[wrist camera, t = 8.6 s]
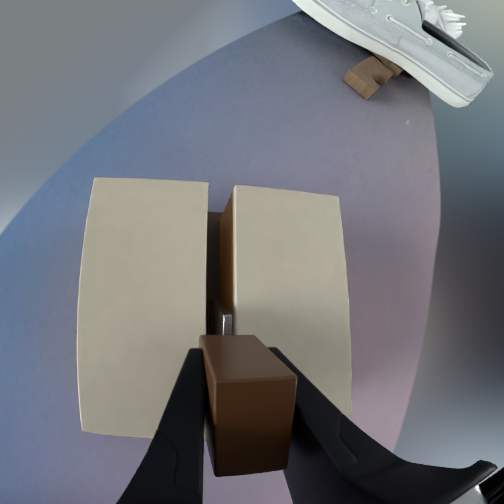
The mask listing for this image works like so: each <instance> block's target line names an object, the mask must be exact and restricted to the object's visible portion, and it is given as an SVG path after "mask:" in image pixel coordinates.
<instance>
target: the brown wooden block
mask: <svg viewBox="0 0 504 504" xmlns="http://www.w3.org/2000/svg"><path fill="white" fill-rule="evenodd" d="M231 327H232V315H231V314H230V313H229V312H228V311H227V310H226V309H225V308H224V307H223V306H222V304H221V303H220V302H219V301H218V300H217V299H216V298H215V297H214V296H208V329H207V335H200V336H199V348H201V349H202V351H203V358H204V365H205V372H206V402H205V425H204V433H205V437H206V442H207V446H208V450H209V455H210V459H211V463H212V467H213V471H214V475H215V476H216V477H223V476H236V475H246V474H255V473H263V472H271V471H278V470H284V469H287V465H288V458H289V450H290V442H291V434H292V425H293V417H294V407H295V398H296V387H297V375H295V374H294V373H293V372H292V371H291V370H290V369H289V368H288V367H287V366H286V365H285V364H284V363H283V362H282V361H281V360H280V359H279V358H278V357H276V356H275V355H274V354H273V353H272V352H271V351H270V350H269V349H268V348H267V347H266V346H265V345H264V344H263V343H262V342H261V341H260V340H259V339H258V338H257V337H256V336H255V335H231Z"/></svg>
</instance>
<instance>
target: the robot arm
mask: <svg viewBox="0 0 504 504" xmlns="http://www.w3.org/2000/svg"><path fill="white" fill-rule="evenodd" d="M267 348H268V349H269V350H270V351H271V352H272V353H273V354H274V355H275V356H276V357H278V358H279V359H280V360H281V361H282V362H283V363H284V364H285V365H286V366H287V367H288V368H289V369H290V370H291V371H292V372H293V373H294V374H295V375H297V387H296V398H295V407H294V417H293V425H292V434H291V442H290V450H289V458H288V465H287V469H284V470H283V471H284V475H285V478H286V481H287V485H288V488H289V491H290V494H291V498H292V501H293V504H504V467H503V468H502V469H501V470H499V471H498V472H497V473H495V474H494V475H493V476H491V477H489V478H488V479H487V480H485V481H484V482H482V483H481V484H479V485H478V483H479V482H481V481H482V480H484V479H485V478H486V477H487V476H489V475H490V474H491V473H492V472H494V471H495V470H496V469H497V466H496V465H495V464H493V463H491V462H488V461H483V460H479V461H477V462H476V463H475V464H473V465H472V466H470V467H467V468H462V469H456V468H445V467H437V466H430V465H423V464H416V463H411V462H408V461H405V460H403V459H401V458H399V457H397V456H396V455H394V454H393V453H392V452H390V451H389V450H387V449H386V448H385V447H383V446H382V445H380V444H379V443H378V442H376V441H375V440H374V439H372V438H371V437H370V436H368V435H367V434H366V433H365V432H363V431H362V430H361V429H360V428H359V427H357V426H356V425H355V424H354V423H353V422H352V421H351V420H350V419H349V418H348V417H346V416H345V415H344V414H342V412H341V411H340V410H339V409H338V408H337V407H336V406H335V405H334V404H333V403H332V402H331V401H330V400H329V399H328V398H327V397H326V396H325V395H324V394H323V393H322V392H321V391H320V390H319V389H318V388H317V387H316V386H315V385H314V384H313V383H312V382H311V381H310V380H309V379H308V378H307V377H306V376H305V375H304V374H303V373H302V372H301V371H300V370H299V369H298V368H297V367H296V366H295V365H294V364H293V363H292V362H291V361H290V360H289V359H288V358H287V357H286V356H285V355H284V354H283V353H282V352H281V351H280V350H279V349H278V348H277V347H267ZM205 402H206V372H205V365H204V358H203V351H202V349H201V348H190V349H189V350H188V353H187V355H186V358H185V360H184V363H183V365H182V367H181V370H180V372H179V375H178V377H177V380H176V382H175V385H174V387H173V390H172V392H171V395H170V397H169V400H168V402H167V405H166V407H165V410H164V412H163V415H162V417H161V420H160V422H159V425H158V429H157V430H156V432H155V435H154V437H153V440H152V442H151V444H150V446H149V449H148V451H147V453H146V455H145V457H144V459H143V460H142V462H141V464H140V466H139V468H138V469H137V471H136V473H135V474H134V476H133V478H132V479H131V481H130V483H129V485H128V486H127V488H126V490H125V491H124V493H123V494H122V496H121V497H120V499H119V500H118V502H117V503H116V504H203V455H204V425H205Z"/></svg>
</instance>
